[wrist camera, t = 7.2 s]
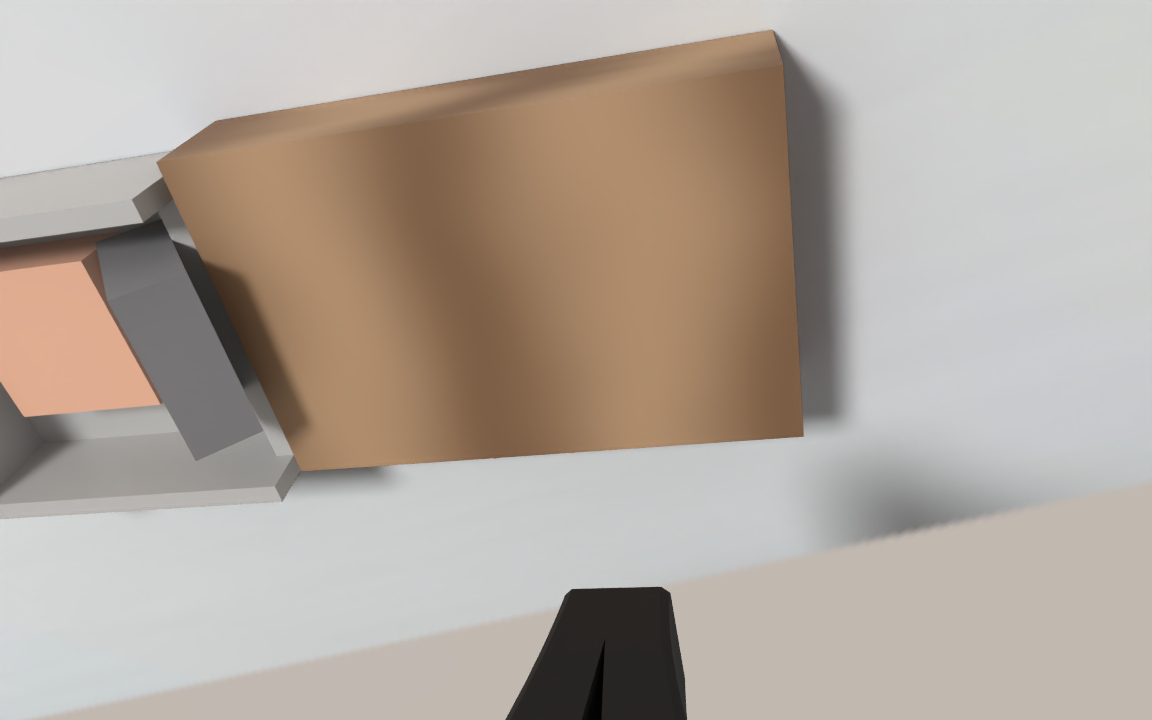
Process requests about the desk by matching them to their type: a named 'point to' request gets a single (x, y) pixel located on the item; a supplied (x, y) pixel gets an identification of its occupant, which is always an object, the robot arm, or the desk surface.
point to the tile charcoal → (175, 339)
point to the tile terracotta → (64, 333)
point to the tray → (137, 434)
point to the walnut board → (513, 259)
